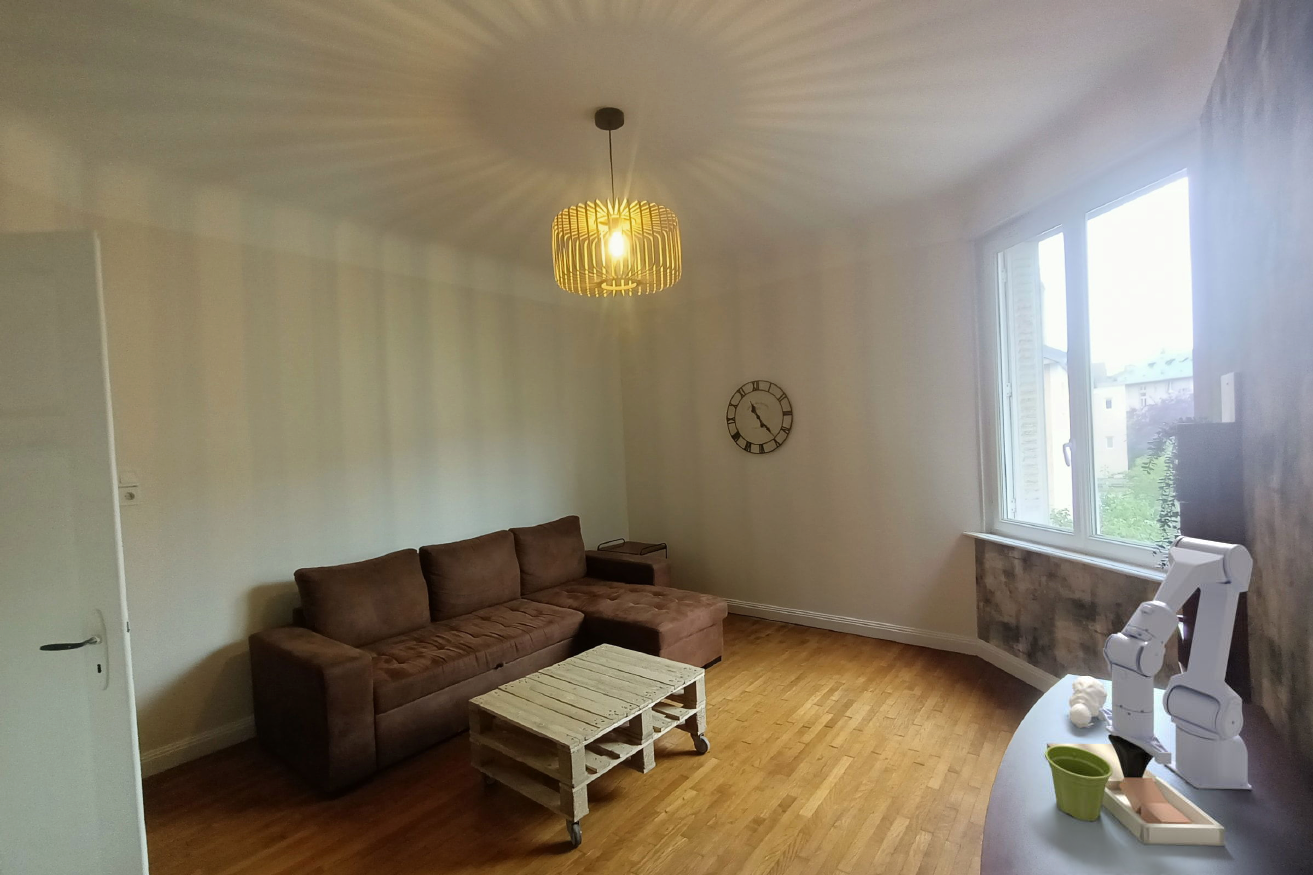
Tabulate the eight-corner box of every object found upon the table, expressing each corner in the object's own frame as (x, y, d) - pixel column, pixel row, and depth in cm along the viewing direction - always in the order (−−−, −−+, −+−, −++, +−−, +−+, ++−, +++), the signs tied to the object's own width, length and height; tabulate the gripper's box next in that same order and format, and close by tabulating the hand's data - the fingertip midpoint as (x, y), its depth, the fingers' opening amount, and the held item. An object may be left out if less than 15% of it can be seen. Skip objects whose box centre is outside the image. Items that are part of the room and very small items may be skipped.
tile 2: (1169, 817, 98) (1169, 803, 98) (1191, 837, 93) (1191, 821, 93) (1140, 817, 98) (1140, 802, 98) (1161, 836, 94) (1162, 821, 94)
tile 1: (1146, 785, 103) (1151, 777, 102) (1163, 812, 99) (1169, 805, 98) (1119, 785, 103) (1124, 777, 102) (1135, 812, 99) (1141, 804, 98)
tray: (1159, 792, 105) (1159, 777, 105) (1224, 845, 92) (1224, 828, 92) (1089, 791, 106) (1089, 776, 106) (1143, 843, 93) (1143, 826, 93)
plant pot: (1125, 831, 96) (1125, 779, 95) (1060, 825, 97) (1060, 774, 97) (1094, 794, 105) (1094, 747, 104) (1036, 789, 107) (1035, 743, 106)
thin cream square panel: (1115, 753, 117) (1115, 743, 117) (1162, 792, 105) (1162, 781, 105) (1047, 752, 118) (1046, 743, 118) (1086, 791, 106) (1086, 780, 106)
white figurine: (1108, 677, 130) (1095, 701, 123) (1109, 713, 131) (1096, 739, 123) (1074, 669, 135) (1059, 691, 127) (1075, 704, 136) (1060, 728, 128)
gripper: (1081, 685, 110) (1081, 755, 111) (1139, 726, 96) (1139, 807, 96) (1121, 685, 110) (1121, 756, 110) (1185, 726, 95) (1185, 807, 96)
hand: (1132, 780), depth 103 cm, fingers closed
